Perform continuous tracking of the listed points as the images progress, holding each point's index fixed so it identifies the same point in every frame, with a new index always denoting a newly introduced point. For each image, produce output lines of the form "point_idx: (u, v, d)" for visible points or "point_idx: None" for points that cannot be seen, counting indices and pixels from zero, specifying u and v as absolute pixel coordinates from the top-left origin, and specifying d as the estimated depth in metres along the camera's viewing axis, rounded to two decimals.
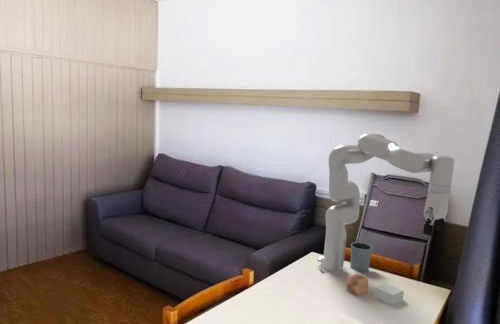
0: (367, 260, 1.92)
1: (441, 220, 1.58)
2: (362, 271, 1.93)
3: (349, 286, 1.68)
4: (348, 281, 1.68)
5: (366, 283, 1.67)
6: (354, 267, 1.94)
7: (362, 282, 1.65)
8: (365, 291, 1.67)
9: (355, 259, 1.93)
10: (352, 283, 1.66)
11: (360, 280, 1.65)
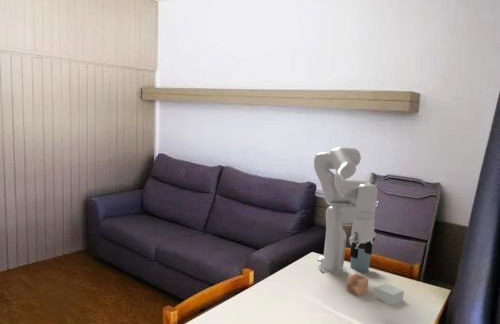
0: (367, 260, 1.92)
1: (369, 243, 1.69)
2: (362, 271, 1.93)
3: (349, 286, 1.68)
4: (348, 281, 1.68)
5: (366, 283, 1.67)
6: (354, 267, 1.94)
7: (362, 282, 1.65)
8: (365, 291, 1.67)
9: (355, 259, 1.93)
10: (352, 283, 1.66)
11: (360, 280, 1.65)
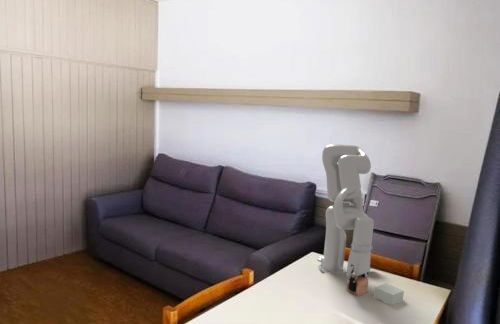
0: None
1: (363, 276, 1.70)
2: None
3: None
4: (348, 281, 1.68)
5: (366, 283, 1.67)
6: None
7: (362, 282, 1.65)
8: (365, 291, 1.67)
9: None
10: None
11: (360, 280, 1.65)
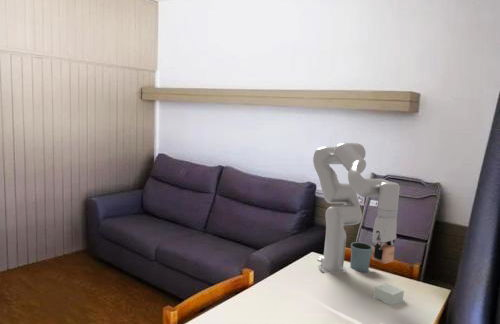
0: (367, 260, 1.92)
1: None
2: (362, 271, 1.93)
3: None
4: (373, 249, 1.63)
5: (393, 251, 1.62)
6: (354, 267, 1.94)
7: (388, 249, 1.59)
8: (391, 259, 1.62)
9: (355, 259, 1.93)
10: None
11: (386, 247, 1.60)
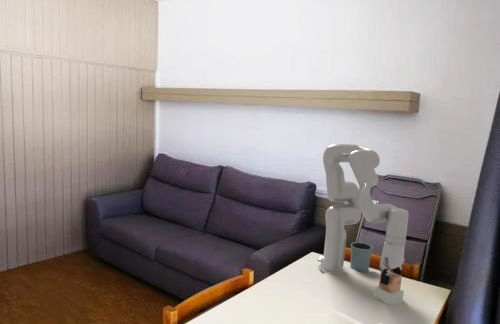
0: (367, 260, 1.92)
1: (397, 269, 1.65)
2: (362, 271, 1.93)
3: (381, 283, 1.63)
4: None
5: (400, 280, 1.62)
6: (354, 267, 1.94)
7: (396, 278, 1.60)
8: (398, 288, 1.62)
9: (355, 259, 1.93)
10: None
11: (394, 277, 1.60)
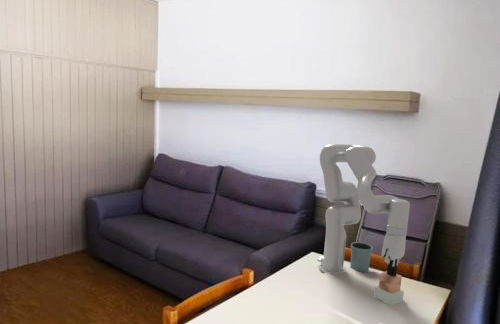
0: (367, 260, 1.92)
1: None
2: (362, 271, 1.93)
3: (381, 283, 1.63)
4: (381, 278, 1.63)
5: (400, 280, 1.62)
6: (354, 267, 1.94)
7: (396, 279, 1.60)
8: (398, 288, 1.62)
9: (355, 259, 1.93)
10: (385, 280, 1.62)
11: (394, 277, 1.60)
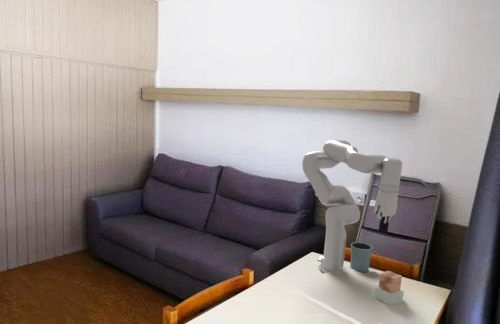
0: (367, 260, 1.92)
1: None
2: (362, 271, 1.93)
3: (381, 283, 1.63)
4: (381, 278, 1.63)
5: (400, 280, 1.62)
6: (354, 267, 1.94)
7: (396, 278, 1.60)
8: (398, 288, 1.62)
9: (355, 259, 1.93)
10: (385, 280, 1.62)
11: (394, 277, 1.60)
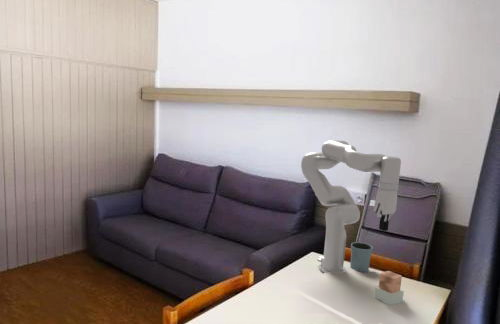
0: (367, 260, 1.92)
1: None
2: (362, 271, 1.93)
3: (381, 283, 1.63)
4: (381, 278, 1.63)
5: (400, 280, 1.62)
6: (354, 267, 1.94)
7: (396, 278, 1.60)
8: (398, 288, 1.62)
9: (355, 259, 1.93)
10: (385, 280, 1.62)
11: (394, 277, 1.60)
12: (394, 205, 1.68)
